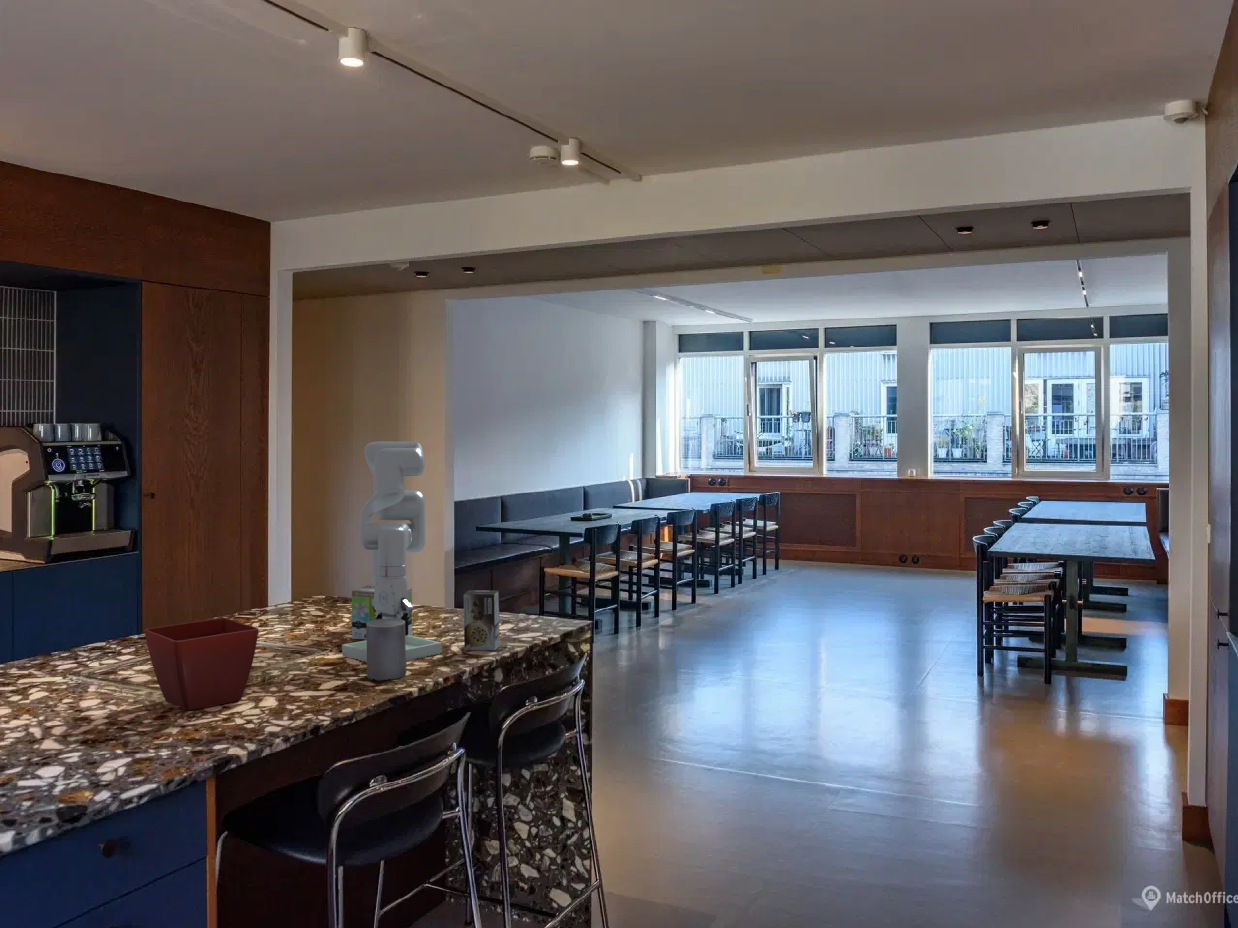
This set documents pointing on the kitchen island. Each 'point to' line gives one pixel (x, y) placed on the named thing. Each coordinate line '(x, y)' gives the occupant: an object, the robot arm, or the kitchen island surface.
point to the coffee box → (481, 620)
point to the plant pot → (202, 661)
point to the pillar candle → (386, 649)
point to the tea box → (367, 611)
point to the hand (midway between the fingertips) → (392, 633)
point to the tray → (413, 648)
